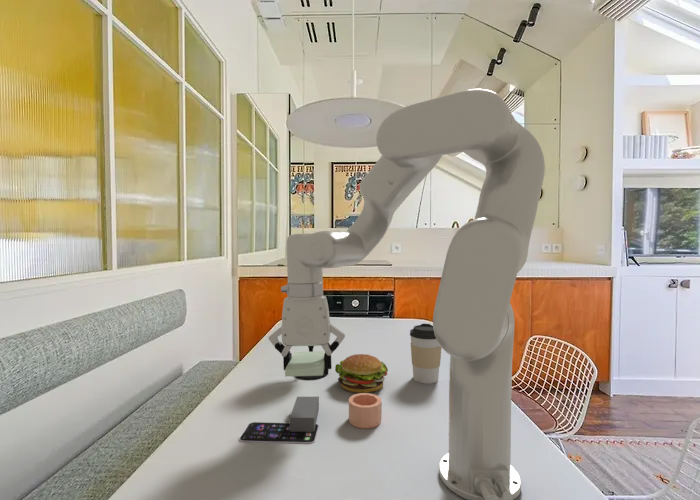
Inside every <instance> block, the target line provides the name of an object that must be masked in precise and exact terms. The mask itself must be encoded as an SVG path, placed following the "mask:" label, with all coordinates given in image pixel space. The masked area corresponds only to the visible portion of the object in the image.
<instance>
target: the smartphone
mask: <svg viewBox="0 0 700 500" xmlns="http://www.w3.org/2000/svg"><path fill="white" fill-rule="evenodd" d="M319 428H320V425H319V424H318V423H316V426H315V430H314V432H290V422H271V421H269V422H264V421H263V422H262V421H254V422H250V423H248V425H247V426H246V428H245V429H244V431H243V432H242V433H241V435H240V436H239V441H240V442H241V443H259V444H260V443H261V444H262V443H265V444H267V443H268V444H301V445H309V444H311V445H312V444H314V443H315V442H316V439H317V436H318V431H319Z"/></svg>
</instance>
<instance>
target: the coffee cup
mask: <svg viewBox="0 0 700 500" xmlns="http://www.w3.org/2000/svg"><path fill="white" fill-rule="evenodd" d="M409 336H410V354H411V364H412V375H413V376H412V377H413V381H416V382H418V383H422V384H435V383H437V382H438V381H439V376H440V375H439V374H440V366H441V359H442V358H441V357H442V347H441V346H440V344H439V343H438V341H437V339H436V337H435V334H434V329H433V324H431V323H422V324H419V325H414V326H413V328H412V329H410V330H409Z"/></svg>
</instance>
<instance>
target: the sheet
mask: <svg viewBox="0 0 700 500" xmlns="http://www.w3.org/2000/svg"><path fill="white" fill-rule="evenodd" d="M324 354H325V351H324V350H323V351H321V350H319V351H313V352H309V351H294V353H293V354H292V359H291V360H290V362H289V363H288V365H287V367H286V369H285V370H284V374H285V375H284V376H285V377H295V376H322V375H323V373H324V368H325V365H324Z"/></svg>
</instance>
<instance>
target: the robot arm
mask: <svg viewBox="0 0 700 500" xmlns="http://www.w3.org/2000/svg"><path fill="white" fill-rule="evenodd" d="M376 146H377V149H378V151H379V154H380V155H381V156H380V158H378V160H377V161H376V162H375V163H374V165H372V167H371V169H369V171H368V172H367V174H366V175H365V176H364V177H363V179H362V180H361V181H360V183H359V192H360V194H361V195H362V198H363V207H362V209H361V212H360V214H359V215H358V217H357V218H356V219H355V221H353V223H352V224H351V225H350V226H349V228H348V229H347V230H346V231H345V230H321V231H316V232H313V233H308V232H307V233H293V234H290V235H289V236H288V237H287V239H286V265H287V266H286V267H287V268H286V269H287V270H286V272H287V284H286V285H283V286H282V285H281V287H280V292H281V293H285V294H286V295H287V296H286V297H285V298H284V299H283V305H282V312H281V313H282V314H281V326H280V327H279V328H278V329H276V330H275V331H274V332H273V333H271V334H270V335H269V336H268V341H270V343H271V344H272V345H273V347H274V349H275V350H276V351H278V353H279V354H281V356H282V357H283V358H282V359H283V361H282V363H283V371H285V369H286V367H287V365H288V363H289V362H290V360H291V359H292V356H293V354H292V352H291V349H292V347H308V346H314V347H316V346H317V347H318V346H321V348H322V349H323V351H325V354H324V365H325V368H324V374H328V375H329V370H332V354H333V353H334V351H336V350H337V349H338V347H339V346H340V344H341V343H342V342H343V341H344V339H345V337H346V334H345V333H344V332H343V331H341V330H340V329H339V328H337V327H336V326H335V325H333V324H332V323H331V319H330V311H329V304H328V298H327V296H326V295H324V282H323V281H324V278H323V273H324V272H323V269H336V268H342V267H350V266H351V267H352V266H355V265H357V264H359V263H360V262H362V261H363V260H365V258H367V256H368V255H369V254H370V253H371V252H372V251H373V250H374V249H375V248H376V247H377V245H378V244H380V242H381V241H382V239H383V238H384V237H385V235H386V234H387V231H388V230H389V227H390V224H391V222H392V220H393V217H394V215H395V213H396V211H397V209H399V207H400V206H401V205H402V204H403V203H404V202H405V200H406V199H407V198H408V197H409V196H410V195H411V193H412V192H413V191H414V190H415V189H416V188H417V187H418V185H420V184H421V182H422V181H423V180H424V179H425V178H426V176H428V175H429V174H430V172H431V171H432V170H433V169H434V168H435V167H436V166H437V164H438V163H439V161H441V159H442V157H443V156H444V155H451V154H456V153H458V154H459V153H464V154H466V155H467V156H468V157H470V158H471V159H473V160H475V161H476V162H478V163H480V164H481V165H483V166H484V168H485V171H486V173H485V178H484V180H483V184H482V187H481V190H480V193H479V197H478V198H479V199H478V204H477V207H476V212H475V216H474V219H472V220H471V221H468V222H467V223H464V225H462V226H461V227H460V228H458V230H457V231H456V232H455V234H454V235H453V237H452V239H451V241H450V244H449V246H448V249H447V251H446V255H445V259H444V264H443V269H442V273H441V277H440V281H439V282H440V283H439V287H438V290H437V291H438V292H437V295H436V298H435V303H434V309H433V315H432V316H433V317H432V326H433V329H434V334H435V337H436V339H437V341H438V343H439V344H440V346H441V349H442V350H444V352H446V353H447V354H448V356H450V357H449V381H448V383H449V384H448V387H449V388H448V389H449V391H448V392H449V393H448V397H449V398H448V453H446V454H445V455H444V456H442V458H441V459H439V464H438V474H439V478H440V479H441V482H443V484H444V485H445V486H446V488H448V489H449V490H450V491H452V492H453V493H454V494H456V495H457V496H459V497H461V498H463V499H465V500H516V499H517V498H518V497H519V495H520V493H521V490H522V480H521V477H520V475H519V473H518V471H516V469H515V468H514V467H513V466H512V465H511V451H512V450H511V446H512V445H511V442H512V441H511V439H512V438H511V437H512V435H511V434H512V433H511V432H512V391H513V390H512V389H513V387H512V386H513V385H512V384H513V383H512V381H513V379H512V378H513V377H512V376H513V355H514V339H515V324H516V323H515V313H514V309H513V306H512V304H511V299H512V295H513V291H514V288H515V283H516V280H517V276H518V273H519V272H520V271H521V270H522V269H523V268H524V266H525V264H526V262H527V259H528V255H529V246H530V241H531V236H532V232H533V230H534V229H533V228H534V226H535V225H534V224H535V220H536V215H537V211H538V205H539V201H540V197H541V192H542V189H543V188H542V187H543V183H544V178H545V167H546V165H545V157H544V152H543V150H542V148H541V145H540V143H539V142H538V140H537V138H536V137H535V136H534V135H533V134H532V132H530V131H529V130H528V129H527V128H526V127H524V125H522V124H520V123H519V122H518V121H517V120H516V118H515V117H514V115H513V114H512V112H511V110H510V108H509V106H508V104H507V103H506V101H505V99H504V98H503V97H502V96H500V95H499V94H498V93H496V92H494V91H492V90H489V89H484V88H483V89H482V88H472V89H467V90H462V91H459V92H454V93H451V94H447V95H444V96H439V97H436V98H431V99H429V100H424V101H420V102H417V103H414V104H409V105H407V106H404V107H402V108H399V109H397V110H395V111H393V112H392V113H390V114H389V115H387V116H386V118H384V120H383V121H382V122H381V124H380V125H379V127H378V130H377V134H376ZM331 334H333V335H334V336H335V337H336V338H335V340H334V341H333V342H331V343H330V340H331ZM280 336H281V341H280V340H279V338H278V337H280Z"/></svg>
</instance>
